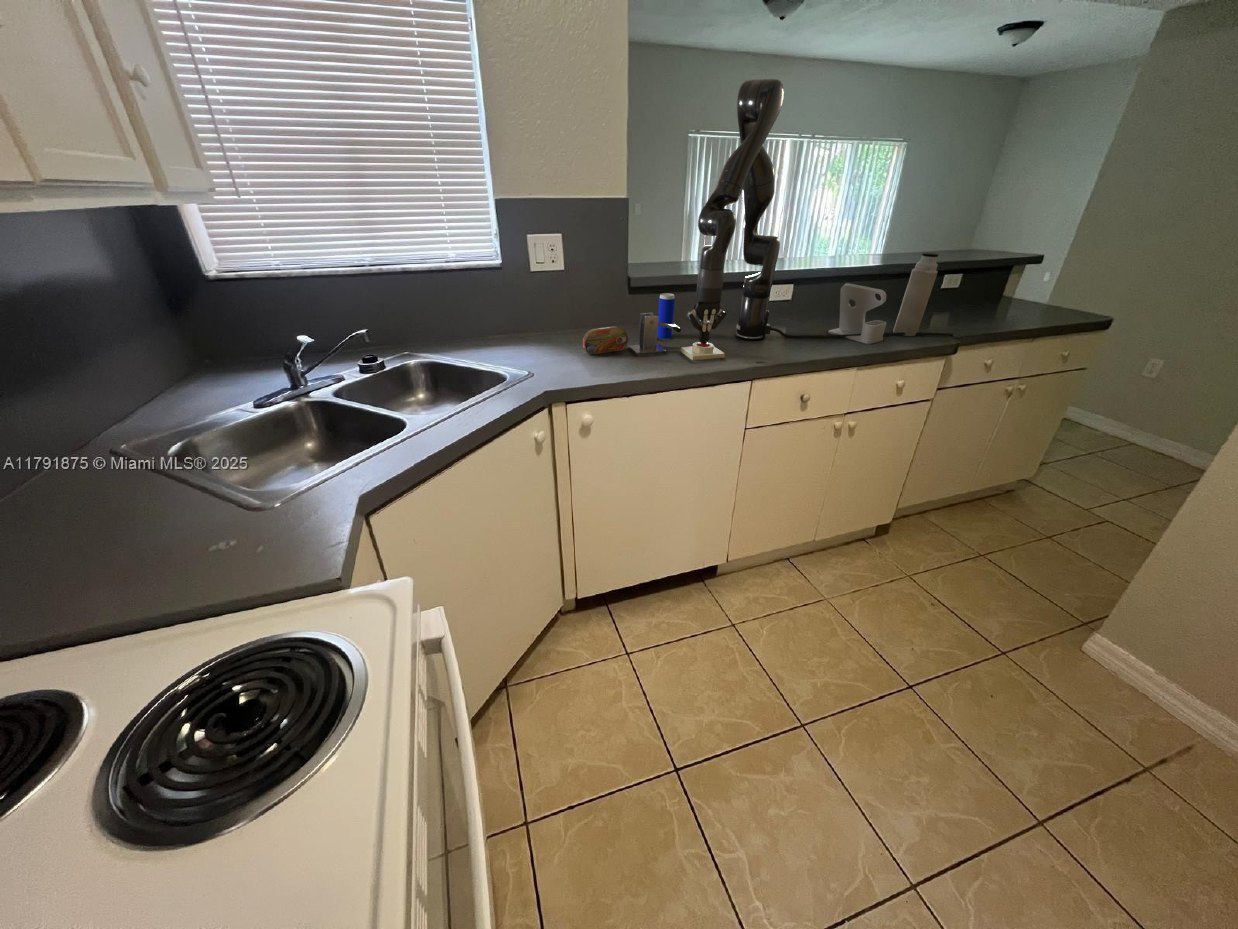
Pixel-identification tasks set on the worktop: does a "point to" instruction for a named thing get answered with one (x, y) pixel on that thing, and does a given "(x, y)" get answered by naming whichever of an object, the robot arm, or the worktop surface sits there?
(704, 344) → the button
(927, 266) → the thermos bottle
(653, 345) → the press bracket
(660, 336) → the beverage can
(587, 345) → the tin
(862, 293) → the phone holder
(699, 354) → the button block
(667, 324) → the press lever
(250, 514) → the worktop surface
